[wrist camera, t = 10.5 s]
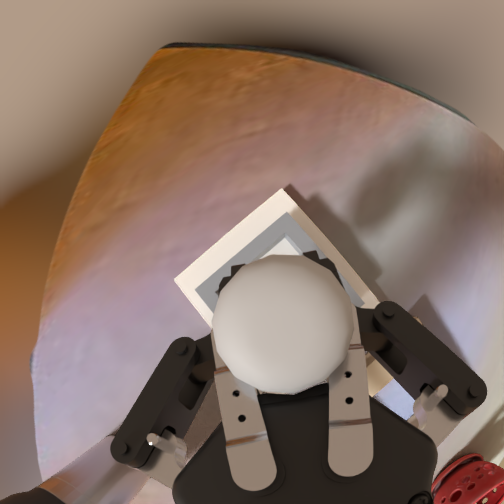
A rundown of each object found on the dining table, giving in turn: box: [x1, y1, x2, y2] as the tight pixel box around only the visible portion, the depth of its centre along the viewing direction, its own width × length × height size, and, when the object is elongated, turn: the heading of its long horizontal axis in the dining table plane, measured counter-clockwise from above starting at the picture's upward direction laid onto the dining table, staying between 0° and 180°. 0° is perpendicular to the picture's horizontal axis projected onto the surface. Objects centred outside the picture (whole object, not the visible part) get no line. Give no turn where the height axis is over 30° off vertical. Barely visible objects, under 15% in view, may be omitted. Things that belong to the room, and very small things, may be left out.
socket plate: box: [174, 188, 380, 394], centre depth 28 cm, size 16×18×4 cm
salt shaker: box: [211, 254, 354, 394], centre depth 13 cm, size 6×6×13 cm
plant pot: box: [431, 453, 504, 504], centre depth 17 cm, size 13×13×12 cm
